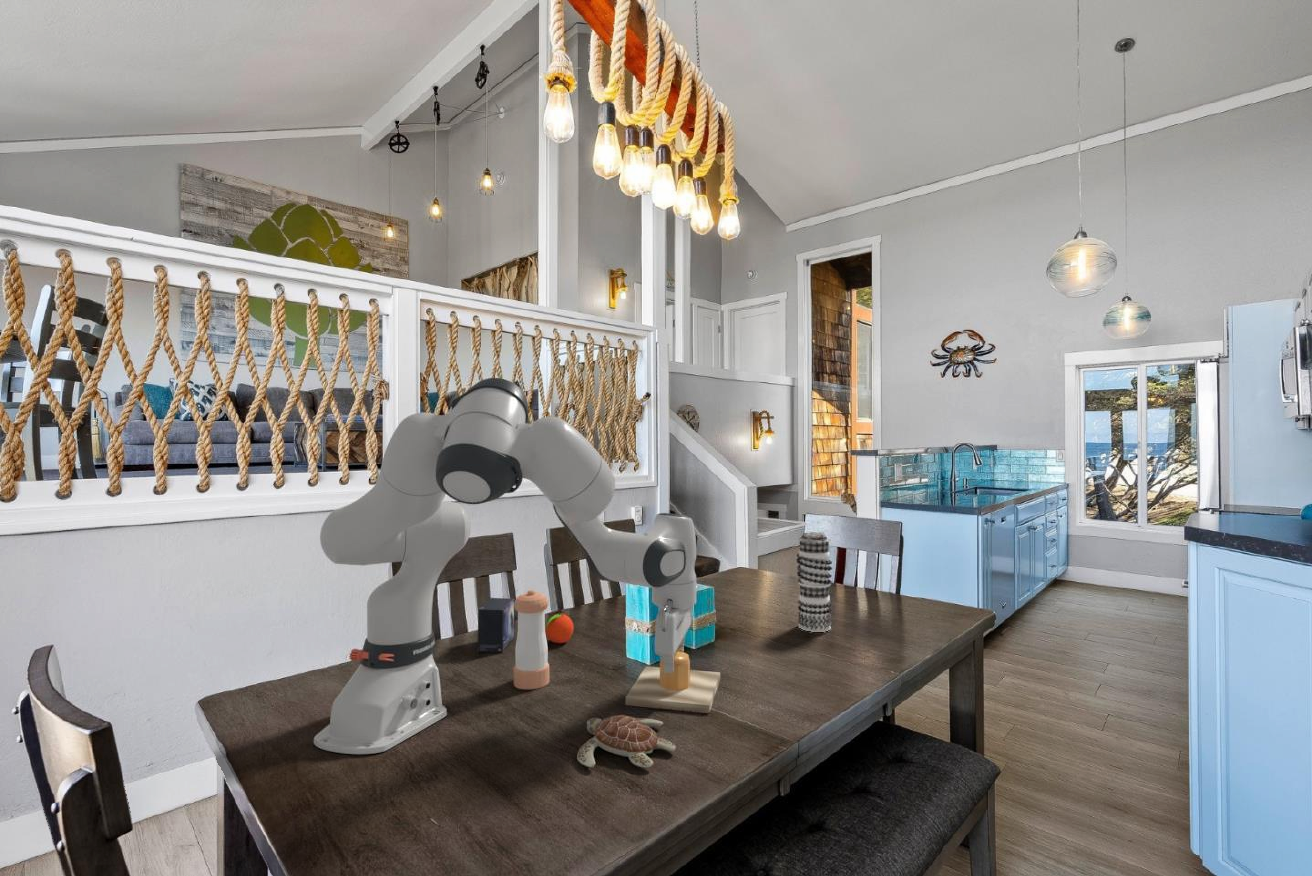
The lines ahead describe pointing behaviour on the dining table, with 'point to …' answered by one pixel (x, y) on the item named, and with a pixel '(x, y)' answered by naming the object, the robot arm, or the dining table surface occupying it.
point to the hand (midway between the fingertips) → (674, 662)
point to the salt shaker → (531, 642)
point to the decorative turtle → (623, 739)
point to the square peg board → (674, 692)
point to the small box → (495, 625)
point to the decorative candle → (814, 582)
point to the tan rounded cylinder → (676, 673)
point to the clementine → (559, 628)
